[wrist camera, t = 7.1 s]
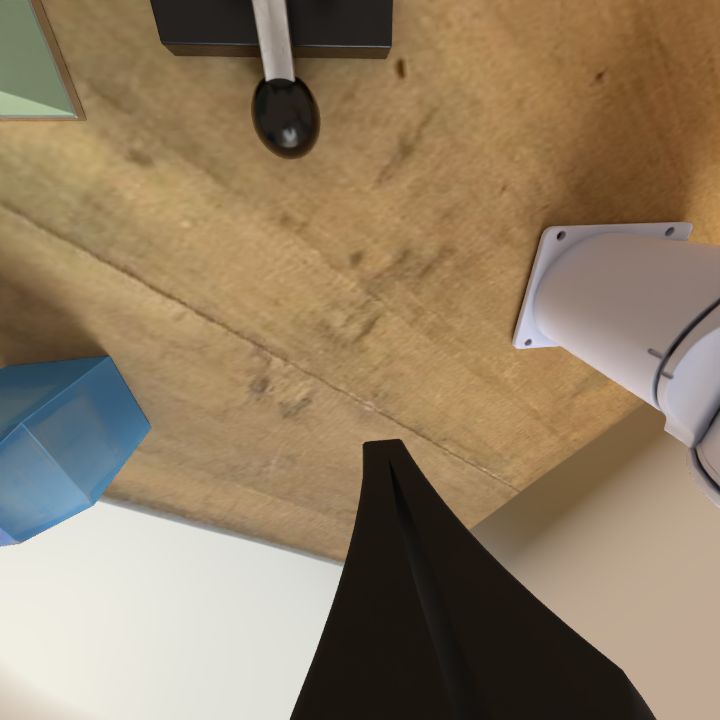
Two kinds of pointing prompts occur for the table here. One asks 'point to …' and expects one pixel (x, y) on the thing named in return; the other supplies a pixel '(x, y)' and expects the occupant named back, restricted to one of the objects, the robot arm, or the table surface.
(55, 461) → the perfume bottle
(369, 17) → the switch bracket
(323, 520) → the table surface
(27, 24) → the toaster body
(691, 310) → the robot arm
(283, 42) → the switch lever
